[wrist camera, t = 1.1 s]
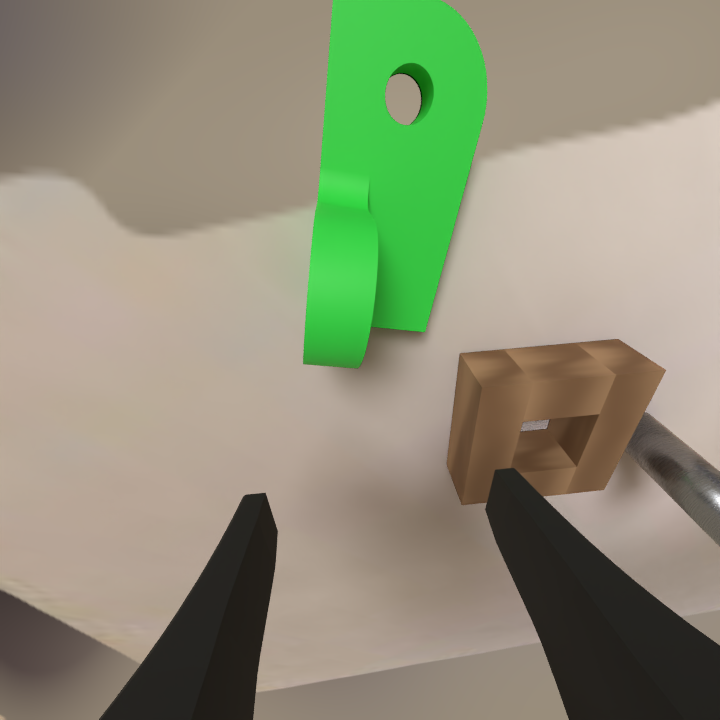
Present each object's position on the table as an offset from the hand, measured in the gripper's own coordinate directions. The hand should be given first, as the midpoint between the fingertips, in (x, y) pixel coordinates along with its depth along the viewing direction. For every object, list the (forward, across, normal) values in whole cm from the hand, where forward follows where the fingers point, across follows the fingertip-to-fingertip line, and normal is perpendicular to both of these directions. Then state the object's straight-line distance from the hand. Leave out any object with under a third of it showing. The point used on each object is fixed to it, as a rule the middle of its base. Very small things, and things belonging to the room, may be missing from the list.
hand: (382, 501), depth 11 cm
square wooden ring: (+10, -11, +6) cm, 17 cm away
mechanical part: (+11, -2, -8) cm, 14 cm away
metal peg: (+10, -20, +9) cm, 25 cm away
